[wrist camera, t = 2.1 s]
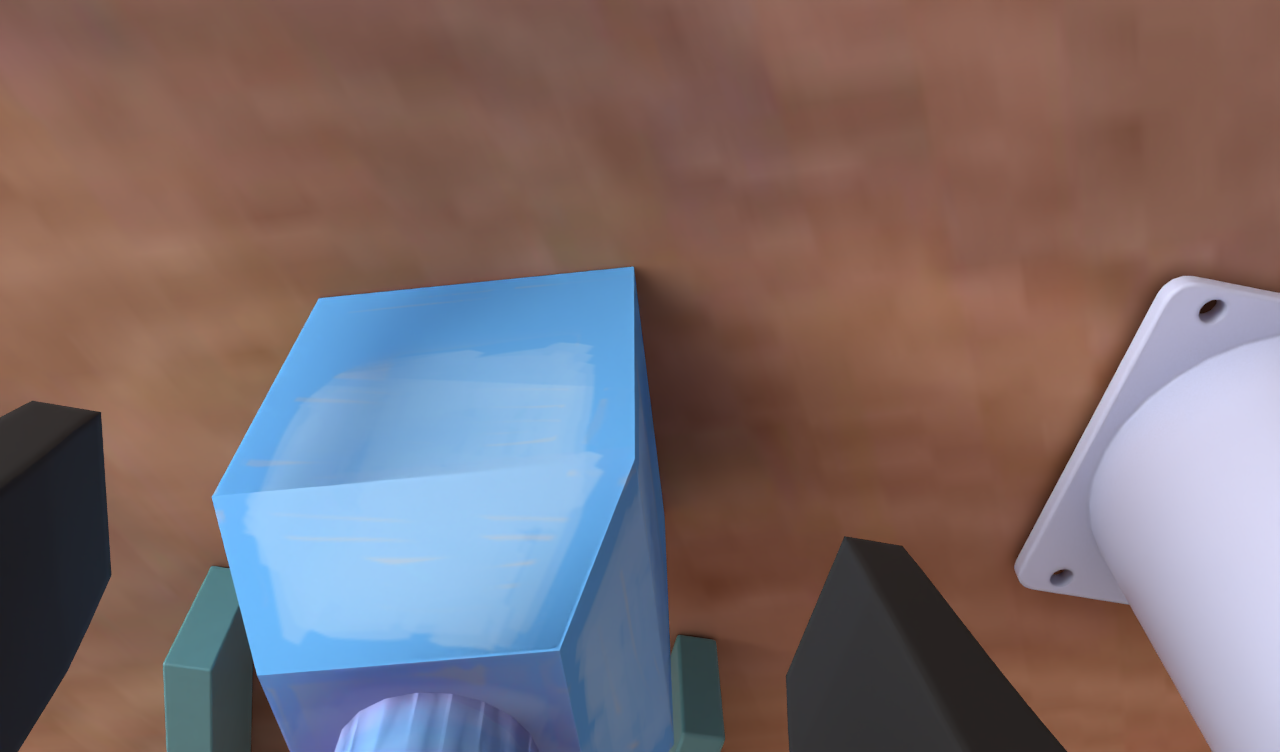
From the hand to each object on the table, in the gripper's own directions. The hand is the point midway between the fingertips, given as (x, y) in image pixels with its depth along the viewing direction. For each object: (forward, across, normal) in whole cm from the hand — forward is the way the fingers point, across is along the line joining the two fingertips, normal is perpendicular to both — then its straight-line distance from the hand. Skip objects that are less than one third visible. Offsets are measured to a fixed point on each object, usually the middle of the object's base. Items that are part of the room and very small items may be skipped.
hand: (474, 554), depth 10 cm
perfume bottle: (+11, 0, +6) cm, 12 cm away
